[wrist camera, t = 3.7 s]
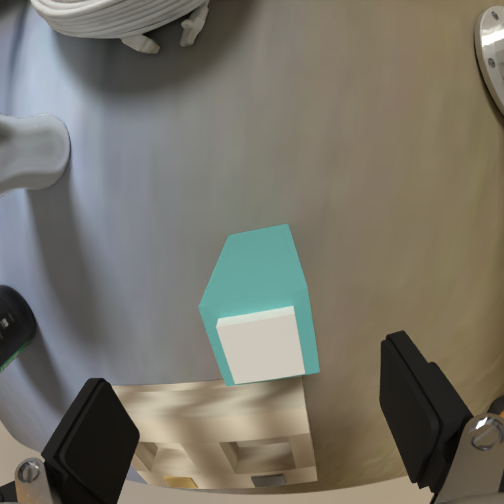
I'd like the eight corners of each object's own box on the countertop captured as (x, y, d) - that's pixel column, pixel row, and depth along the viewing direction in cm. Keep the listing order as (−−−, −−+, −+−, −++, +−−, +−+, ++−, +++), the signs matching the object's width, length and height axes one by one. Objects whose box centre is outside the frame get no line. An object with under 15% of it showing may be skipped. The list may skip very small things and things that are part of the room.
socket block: (300, 368, 24) (305, 410, 19) (313, 447, 27) (317, 482, 23) (111, 385, 26) (92, 418, 21) (158, 456, 29) (148, 487, 25)
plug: (287, 223, 20) (309, 295, 10) (298, 278, 21) (321, 381, 11) (228, 235, 21) (195, 315, 11) (241, 289, 22) (224, 395, 12)
